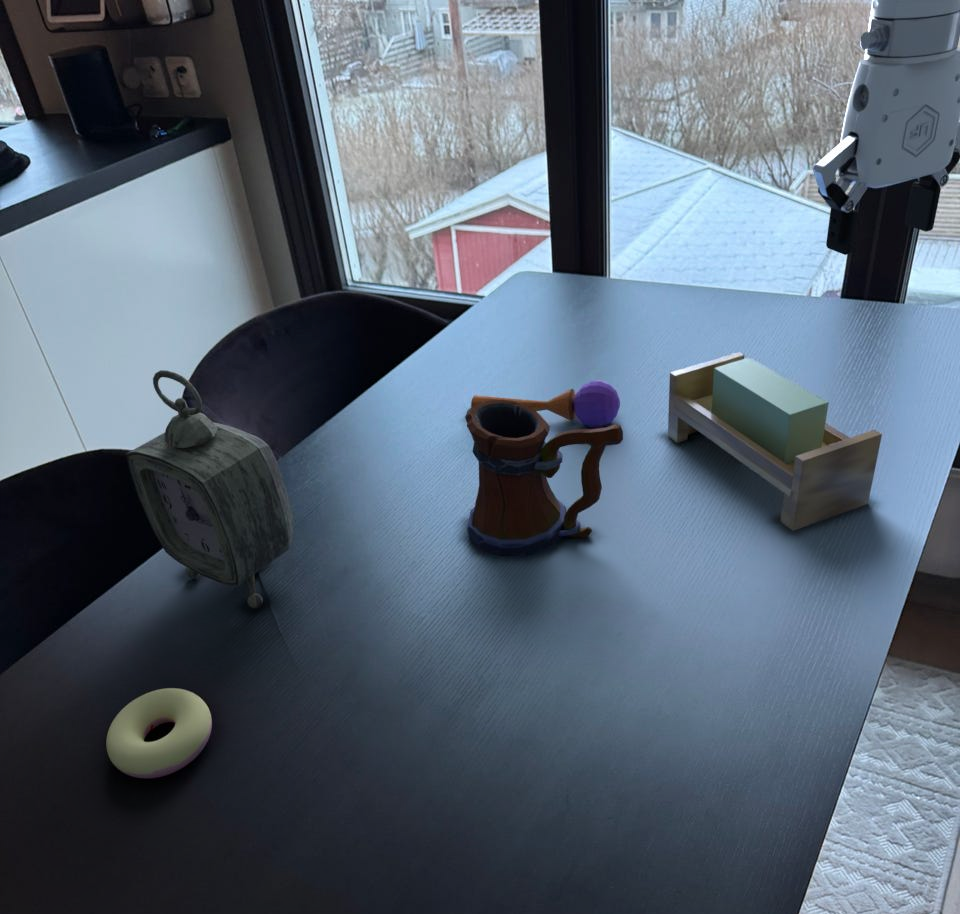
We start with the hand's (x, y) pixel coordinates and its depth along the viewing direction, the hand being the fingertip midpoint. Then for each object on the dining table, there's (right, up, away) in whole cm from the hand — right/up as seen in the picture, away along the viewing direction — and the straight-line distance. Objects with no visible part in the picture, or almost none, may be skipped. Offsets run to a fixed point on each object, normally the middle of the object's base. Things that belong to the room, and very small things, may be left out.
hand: (879, 239), depth 91 cm
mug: (-32, -28, +13) cm, 45 cm away
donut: (-69, -50, -6) cm, 85 cm away
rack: (-6, -20, +18) cm, 28 cm away
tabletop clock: (-67, -33, +12) cm, 75 cm away
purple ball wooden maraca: (-31, -11, +33) cm, 46 cm away
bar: (-7, -16, +15) cm, 23 cm away
